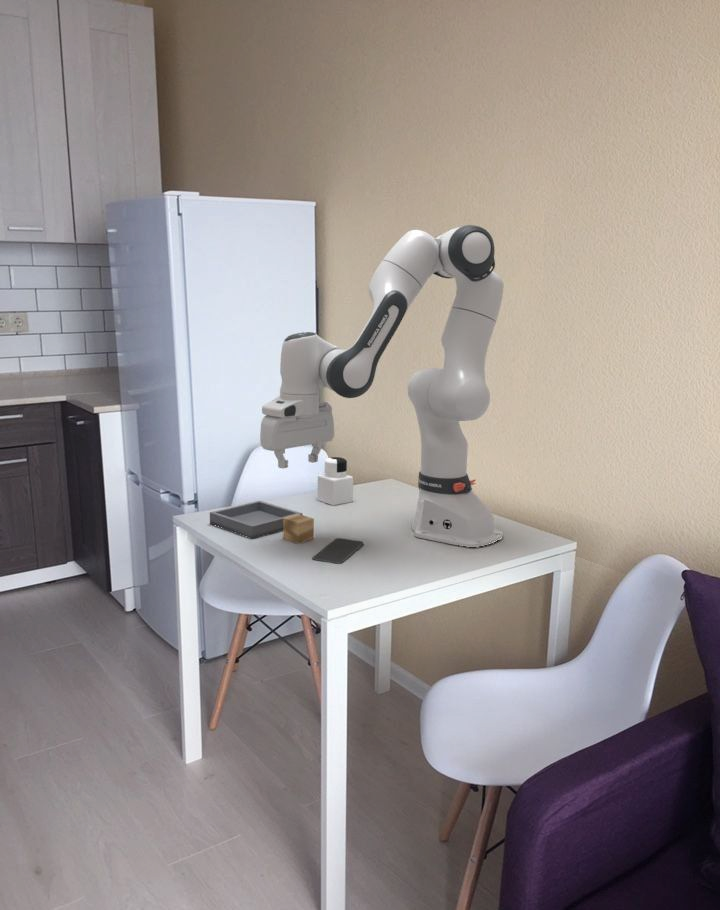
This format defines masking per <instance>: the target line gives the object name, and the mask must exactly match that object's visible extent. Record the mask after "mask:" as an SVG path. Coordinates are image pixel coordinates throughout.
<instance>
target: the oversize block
mask: <svg viewBox="0 0 720 910" xmlns="http://www.w3.org/2000/svg"><path fill="white" fill-rule="evenodd" d="M314 521H315V519H314V518H313V517H310V516H307V515H303V514H302V515H300V514H297V515H294V516H290V517H286V518H283V531H282V532H283V533H282V535H283V537H282V539H283V540H287V541H289V542H293V543H295V544H300V543H303V542H308V541H310V540H314V538H315V537H314V536H315V535H314V532H315V529H314V527H315V525H314V524H315V522H314Z"/></svg>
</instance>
